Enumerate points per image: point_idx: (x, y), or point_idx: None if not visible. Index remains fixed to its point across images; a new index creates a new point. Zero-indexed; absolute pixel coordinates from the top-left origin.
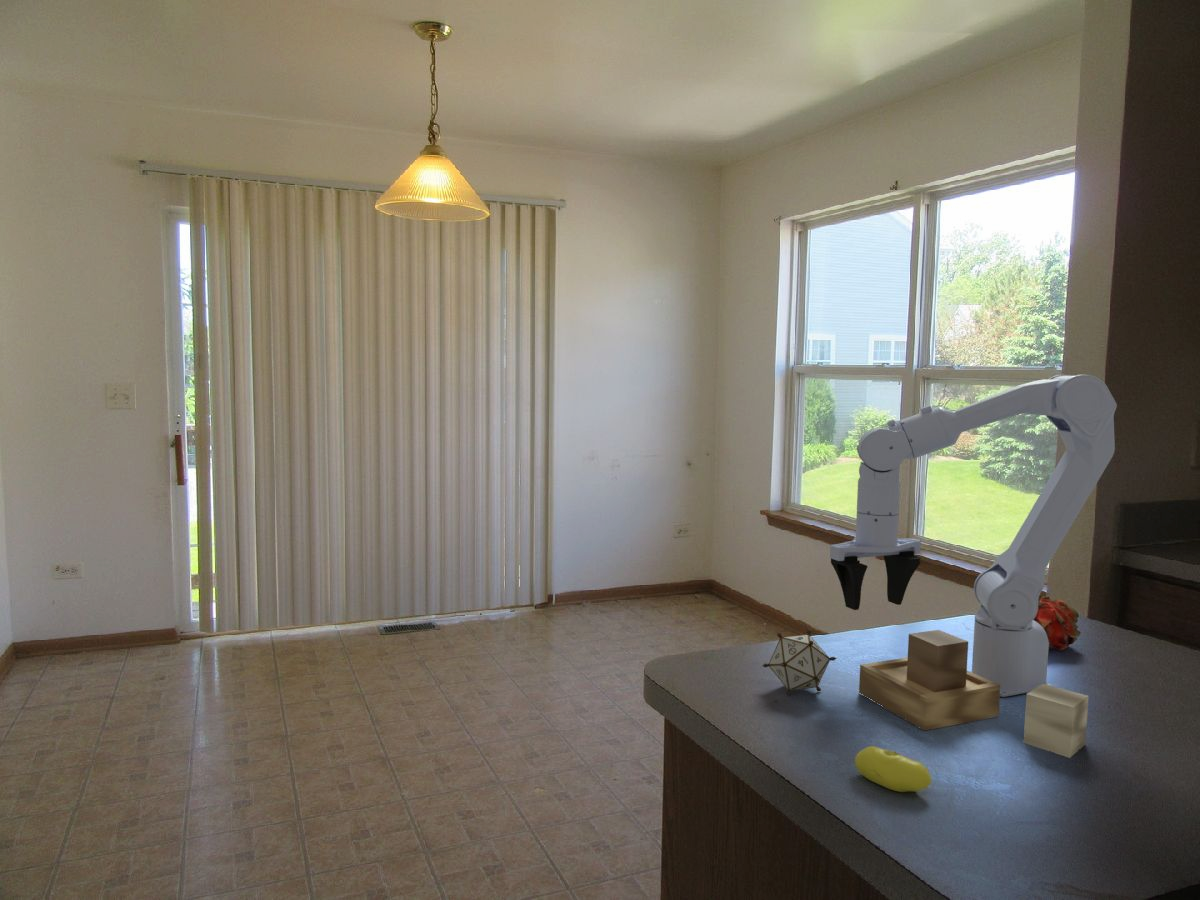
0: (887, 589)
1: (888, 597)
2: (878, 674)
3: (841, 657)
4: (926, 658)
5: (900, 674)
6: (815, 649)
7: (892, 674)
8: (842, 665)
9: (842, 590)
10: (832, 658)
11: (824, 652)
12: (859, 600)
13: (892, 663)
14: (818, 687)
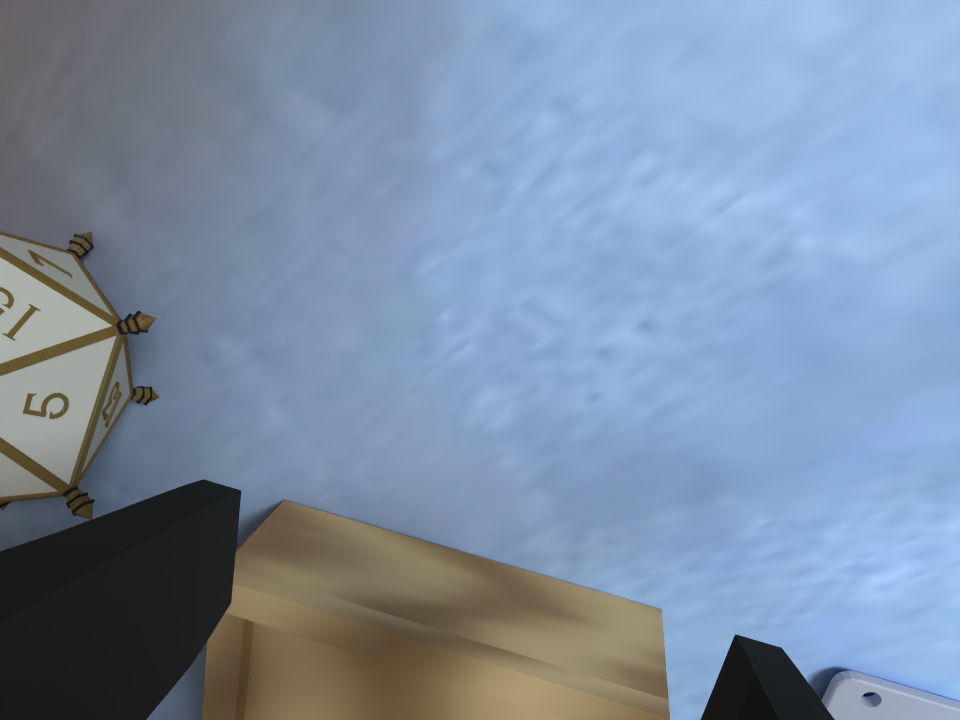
0: (775, 717)
1: (738, 669)
2: (204, 681)
3: (600, 136)
4: None
5: (337, 705)
6: None
7: (306, 683)
8: (495, 233)
9: (57, 535)
10: (72, 508)
11: (34, 476)
12: (162, 685)
13: (372, 657)
14: (135, 398)
